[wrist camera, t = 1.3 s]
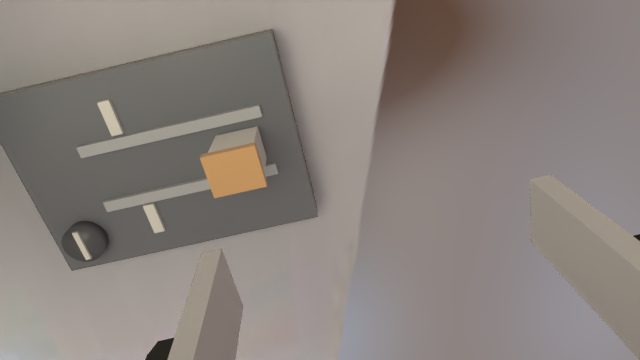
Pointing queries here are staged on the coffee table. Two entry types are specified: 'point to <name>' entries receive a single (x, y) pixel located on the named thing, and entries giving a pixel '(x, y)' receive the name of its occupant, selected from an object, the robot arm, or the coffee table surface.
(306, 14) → the coffee table surface
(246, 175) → the fader
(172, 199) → the console
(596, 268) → the robot arm
